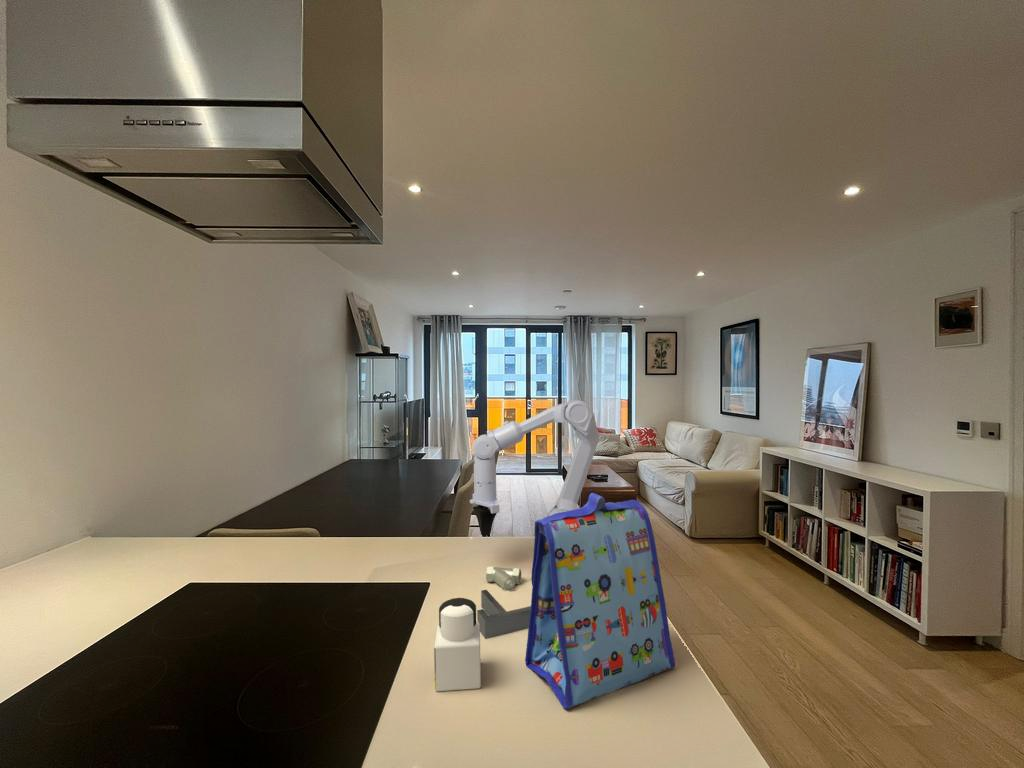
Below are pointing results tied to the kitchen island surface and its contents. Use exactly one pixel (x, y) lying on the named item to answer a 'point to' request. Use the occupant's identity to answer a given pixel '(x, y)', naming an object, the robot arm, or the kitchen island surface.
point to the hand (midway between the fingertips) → (485, 534)
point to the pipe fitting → (504, 576)
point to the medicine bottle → (457, 646)
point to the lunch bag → (596, 601)
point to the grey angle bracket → (500, 617)
